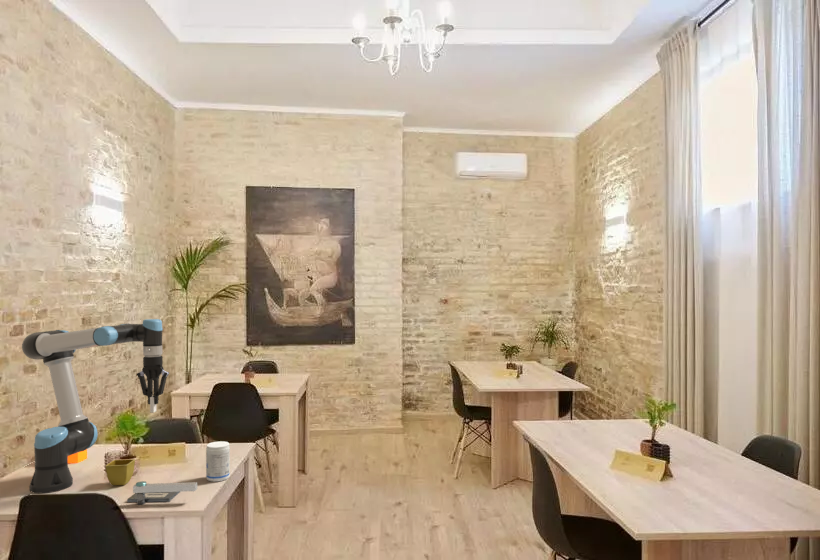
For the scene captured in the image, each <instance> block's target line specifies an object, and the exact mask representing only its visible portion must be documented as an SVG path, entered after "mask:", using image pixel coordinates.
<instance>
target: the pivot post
mask: <svg viewBox="0 0 820 560" xmlns="http://www.w3.org/2000/svg"><path fill="white" fill-rule="evenodd" d="M136 504H137V505H138V506H140V505H141V506H142V505H145V504H146V502H145V493H137V502H136Z"/></svg>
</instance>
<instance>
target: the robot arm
mask: <svg viewBox="0 0 820 560" xmlns="http://www.w3.org/2000/svg"><path fill="white" fill-rule="evenodd" d="M163 330H164V328H163V321H162V320H161V319H160V318H159V319H158V318H146V319H143V321H142V323H122V324H117V325H104V326H101V327H94V328H86V329H79V330H73V331H69V330H64V329H63V330H60V329H56V330H49V331H47V330H46V331H38V332H32V333H31V334H29V335H27V336H26V337H25V338H24V340H23V341H22V344H21V349H22V350H21V351H22V352H23V354H24V355H25V356H26V357H27V358H30V359H31V360H42V361H43V362H42V363H43V365H44V366H47V367H48V370H49V374H50V379H51V384H52V388H53V391H54V395H55V400H56V405H57V408H58V413H59V417H60V422H59V424H58V425H57V426H53V427H51V428H49V427H48V428H45V429H42V430H41V431H39V432H37V433H36V434H35V436H34V443H33V446H34V447H33V449H34V471H33V475H32V478H31V480H30V484H29V492H31V491H32V492H31V493H33V492H34V494H45V493H54V492H58V491H62V490H65V489H67V488H69V487H71V486H72V485H73V482H74V481H73V480H74V479H73V476H72V474H71V470H70V468H69V463H68V456H70V455H72V454H75V453H78V452H81V451H84V450H86V449H87V450H88V449H90V448H91V447H93V446H94V445H95V444H96V441H97V440H98V433H99V432H98V429H97V426H96V424H94V423H93V422H91V421H89V417H88V416H87V415H85V414H84V413H83V408H82V404H81V403H82V402H81V398H80V396H79V395H80V394H79V391H78V386H77V381H76V378H75V377H76V376H75V374H74V370H73V364H72V361H73V360H74V358H75V356H74V355H75V354H74V353H75V352H76V350H81V349H90V348H95V347H103V346H105V347H106V346H110V345H117V344H125V343H134V342H135V343H136V342H139V343H140V342H142V355H143V357H142V369H141V371H139V372H137V373H136V376H137V378H138V379H139V380H138V381H139V383H140V387H141V391H142V395H143V396H145V397H147V404H148V405H149V413H153V414H154V413H155V412H157V405H158V404H159V396H160V395H164V391H165V386H166V382H167V378H168V376H169V375H170V372H169V371H166V370H164V366H163V363H164V361H163V360H164V359H163V358H164V357H163V356H162V355H163V353H164V352H163ZM160 376H161V379H160Z"/></svg>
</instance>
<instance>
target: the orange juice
mask: <svg viewBox="0 0 820 560" xmlns="http://www.w3.org/2000/svg"><path fill="white" fill-rule="evenodd" d="M87 459H88V449H86V450H84V451H81V452H78V453H75V454H72V455H70V456H68V464H79V463H82V462H83V461H85V460H87Z"/></svg>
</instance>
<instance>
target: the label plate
mask: <svg viewBox="0 0 820 560" xmlns="http://www.w3.org/2000/svg"><path fill="white" fill-rule="evenodd" d="M180 493H181V492H149V493H145V503H164V502H165V503H166V502H167V503H169V502H171V501H172V500H173V499H174V498H175V497H176V496H177V495H178V494H180ZM126 501H127V503H137V493H133V494H132V495H131V496H130V497H128V498H127V499H126Z"/></svg>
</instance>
